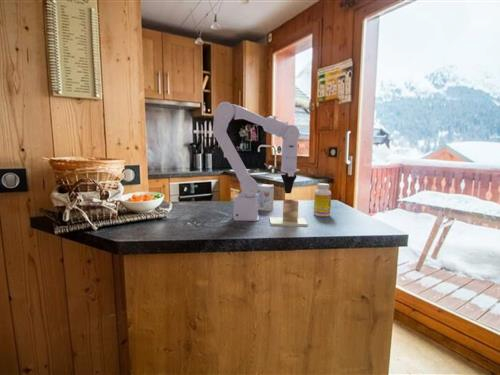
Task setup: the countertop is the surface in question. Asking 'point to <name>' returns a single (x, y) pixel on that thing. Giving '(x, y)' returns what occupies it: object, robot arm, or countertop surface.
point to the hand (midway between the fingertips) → (287, 193)
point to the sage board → (279, 222)
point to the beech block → (290, 210)
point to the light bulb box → (265, 197)
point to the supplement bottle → (322, 200)
